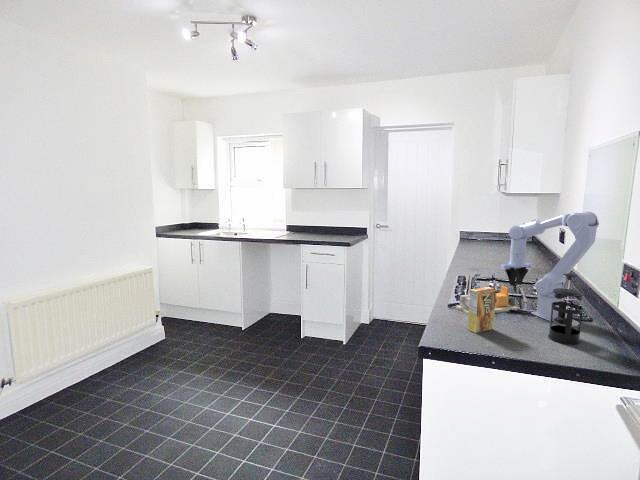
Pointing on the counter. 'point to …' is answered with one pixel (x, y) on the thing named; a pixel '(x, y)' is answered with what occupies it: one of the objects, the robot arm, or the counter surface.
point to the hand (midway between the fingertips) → (515, 284)
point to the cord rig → (511, 302)
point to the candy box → (481, 309)
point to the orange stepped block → (502, 297)
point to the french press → (564, 325)
